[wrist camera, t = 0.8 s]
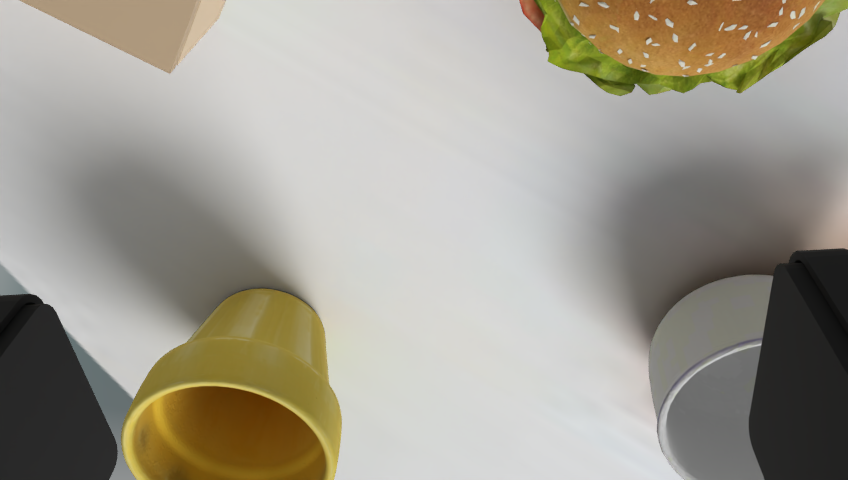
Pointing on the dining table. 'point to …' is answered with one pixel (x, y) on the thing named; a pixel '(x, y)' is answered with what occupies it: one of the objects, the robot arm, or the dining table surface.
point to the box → (201, 23)
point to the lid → (130, 24)
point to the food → (678, 39)
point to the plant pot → (239, 399)
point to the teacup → (710, 378)
